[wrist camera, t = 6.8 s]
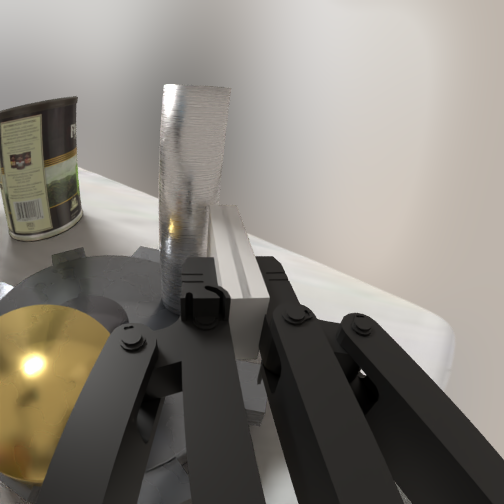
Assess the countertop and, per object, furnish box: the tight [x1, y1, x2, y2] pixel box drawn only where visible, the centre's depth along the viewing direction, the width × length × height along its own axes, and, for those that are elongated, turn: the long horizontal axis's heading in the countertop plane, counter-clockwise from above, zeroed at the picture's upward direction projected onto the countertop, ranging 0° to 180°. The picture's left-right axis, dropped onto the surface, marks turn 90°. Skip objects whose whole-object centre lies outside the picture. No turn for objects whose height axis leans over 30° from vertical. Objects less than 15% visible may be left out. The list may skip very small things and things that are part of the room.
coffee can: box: [0, 96, 83, 241], centre depth 25 cm, size 10×10×14 cm
